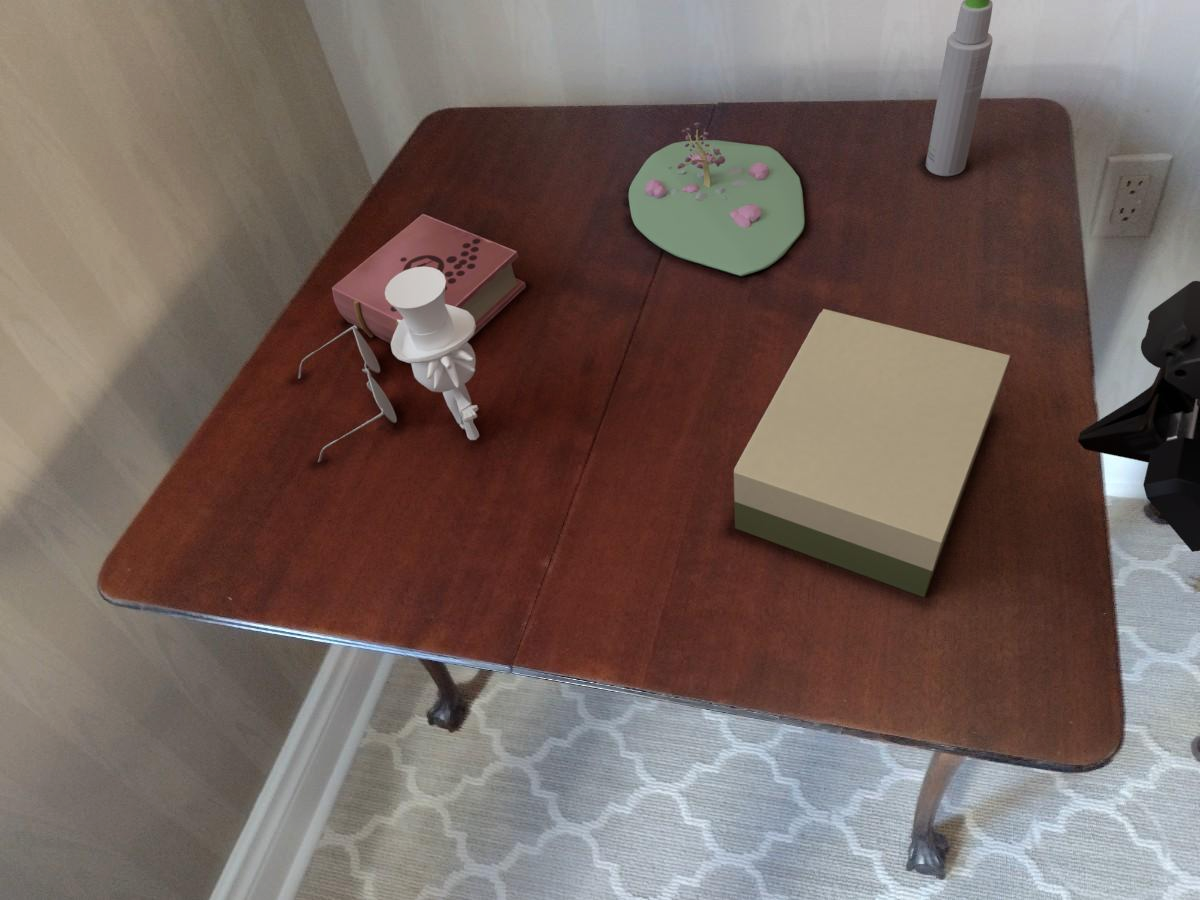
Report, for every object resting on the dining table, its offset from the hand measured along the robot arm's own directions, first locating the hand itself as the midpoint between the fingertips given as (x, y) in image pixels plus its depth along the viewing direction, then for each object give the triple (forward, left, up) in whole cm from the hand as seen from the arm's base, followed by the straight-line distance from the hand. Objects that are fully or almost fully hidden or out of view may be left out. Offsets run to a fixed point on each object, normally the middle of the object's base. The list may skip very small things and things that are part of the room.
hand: (1081, 441), depth 63 cm
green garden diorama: (+12, -50, -11) cm, 53 cm away
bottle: (-14, -48, -11) cm, 52 cm away
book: (+47, -44, -11) cm, 66 cm away
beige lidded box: (+11, -9, -11) cm, 18 cm away
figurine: (+45, -25, -11) cm, 53 cm away
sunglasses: (+57, -32, -11) cm, 67 cm away
